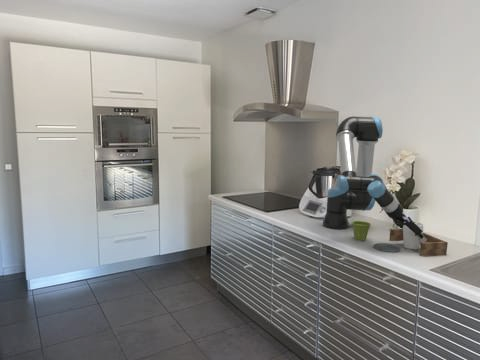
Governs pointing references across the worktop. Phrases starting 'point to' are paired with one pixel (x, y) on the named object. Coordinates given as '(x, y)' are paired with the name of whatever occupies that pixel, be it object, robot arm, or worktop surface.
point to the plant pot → (360, 230)
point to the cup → (411, 237)
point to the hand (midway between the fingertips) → (417, 238)
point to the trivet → (386, 247)
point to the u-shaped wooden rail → (426, 249)
